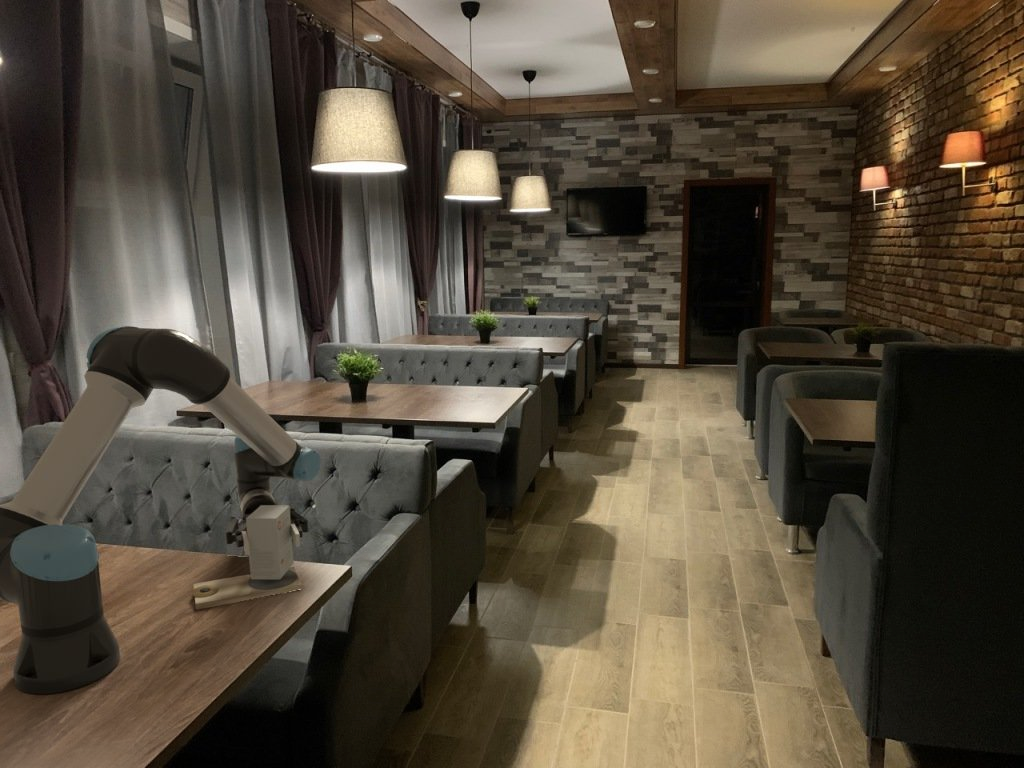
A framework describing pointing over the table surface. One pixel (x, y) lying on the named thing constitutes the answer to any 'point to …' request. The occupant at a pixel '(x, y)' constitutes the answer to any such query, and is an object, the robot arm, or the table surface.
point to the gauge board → (242, 589)
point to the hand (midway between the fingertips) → (273, 544)
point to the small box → (269, 541)
